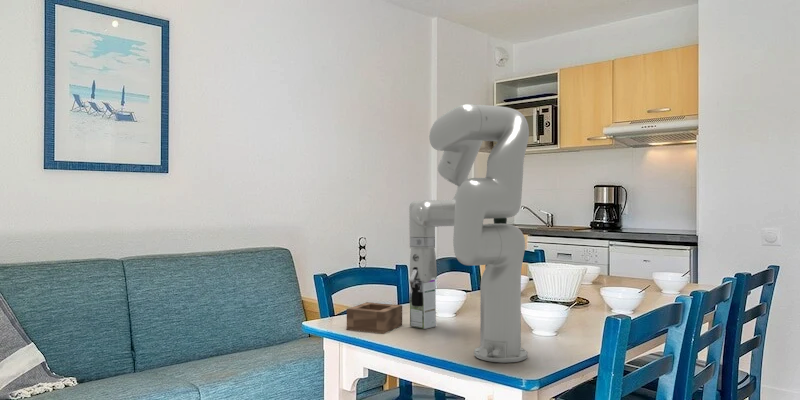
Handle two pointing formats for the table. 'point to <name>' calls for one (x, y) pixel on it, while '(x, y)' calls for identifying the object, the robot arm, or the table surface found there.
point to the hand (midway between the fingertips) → (422, 303)
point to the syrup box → (424, 307)
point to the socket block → (374, 317)
